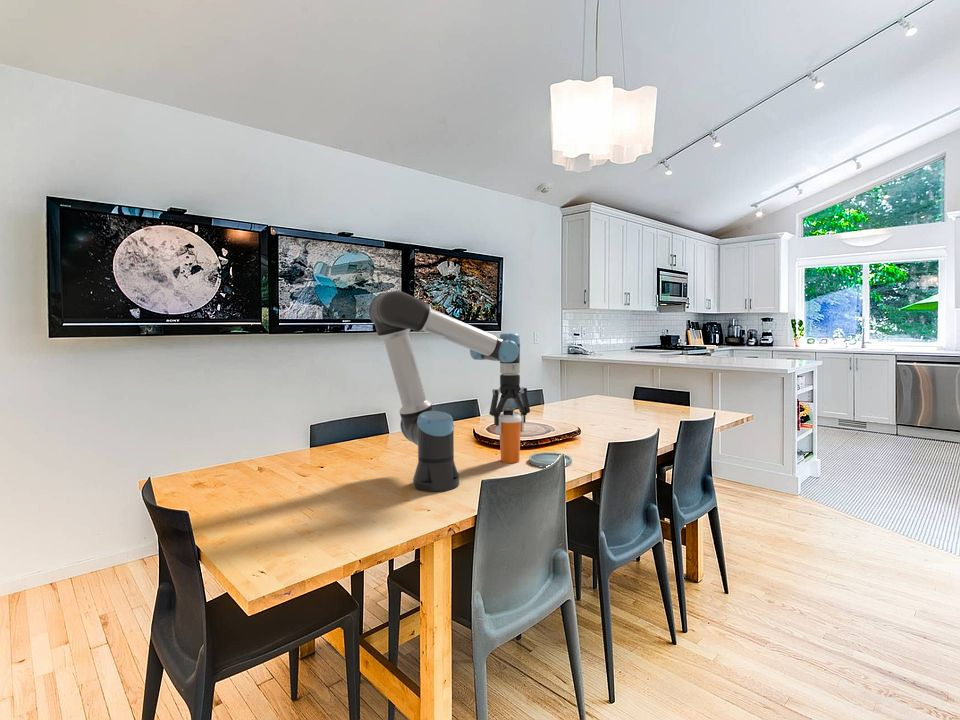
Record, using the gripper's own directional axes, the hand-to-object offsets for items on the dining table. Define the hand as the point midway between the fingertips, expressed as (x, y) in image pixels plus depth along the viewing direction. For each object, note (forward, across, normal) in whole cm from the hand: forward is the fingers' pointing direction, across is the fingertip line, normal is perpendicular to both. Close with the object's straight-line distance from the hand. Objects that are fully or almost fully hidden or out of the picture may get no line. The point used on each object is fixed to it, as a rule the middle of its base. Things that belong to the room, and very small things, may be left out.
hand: (510, 432), depth 195 cm
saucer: (+11, +13, -8) cm, 19 cm away
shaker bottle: (+11, 0, 0) cm, 11 cm away
